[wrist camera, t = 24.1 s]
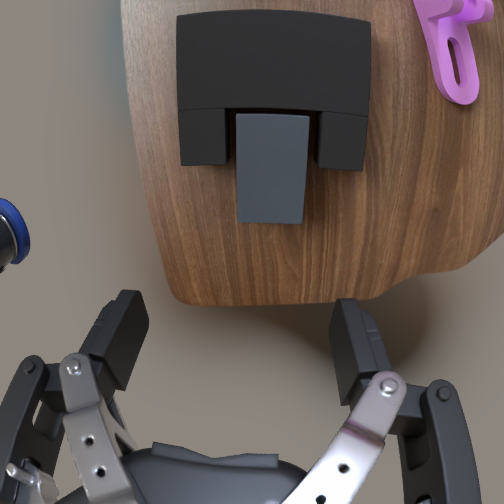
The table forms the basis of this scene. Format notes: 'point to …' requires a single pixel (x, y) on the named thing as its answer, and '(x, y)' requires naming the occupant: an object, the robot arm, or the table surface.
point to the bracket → (453, 43)
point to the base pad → (273, 79)
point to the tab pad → (271, 166)
